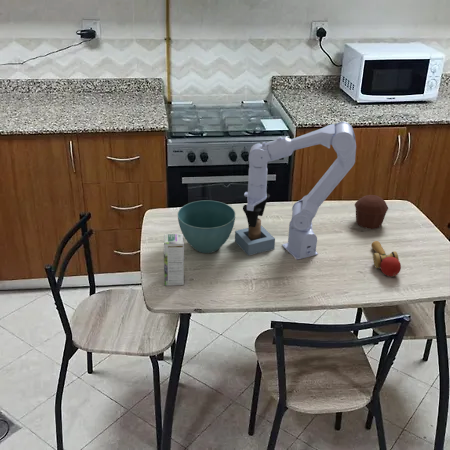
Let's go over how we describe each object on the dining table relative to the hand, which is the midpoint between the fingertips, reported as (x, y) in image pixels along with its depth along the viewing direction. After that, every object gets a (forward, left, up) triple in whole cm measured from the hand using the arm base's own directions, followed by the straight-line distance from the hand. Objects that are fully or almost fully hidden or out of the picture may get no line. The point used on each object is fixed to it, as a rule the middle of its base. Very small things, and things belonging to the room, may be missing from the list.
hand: (255, 220), depth 185 cm
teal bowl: (+6, +15, -9) cm, 18 cm away
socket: (0, 0, -9) cm, 9 cm away
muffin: (-3, -44, -9) cm, 45 cm away
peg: (0, 0, -8) cm, 8 cm away
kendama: (-26, -32, -10) cm, 42 cm away
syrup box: (-8, +31, -9) cm, 33 cm away
